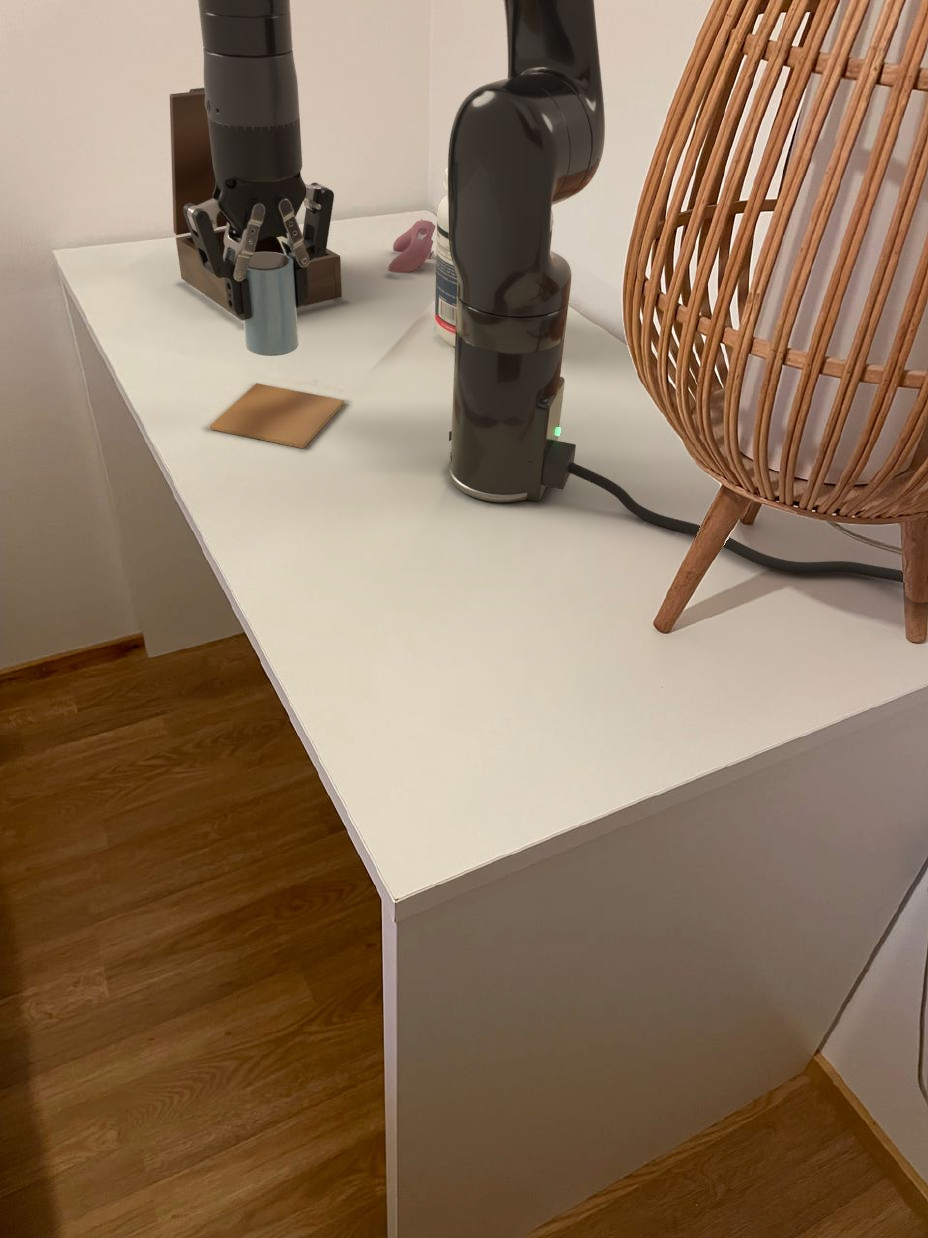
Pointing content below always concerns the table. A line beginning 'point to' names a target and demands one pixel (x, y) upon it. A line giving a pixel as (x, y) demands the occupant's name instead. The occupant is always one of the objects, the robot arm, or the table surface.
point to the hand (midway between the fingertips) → (269, 309)
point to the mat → (278, 415)
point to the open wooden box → (319, 271)
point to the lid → (190, 156)
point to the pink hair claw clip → (413, 247)
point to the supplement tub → (447, 275)
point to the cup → (271, 305)
